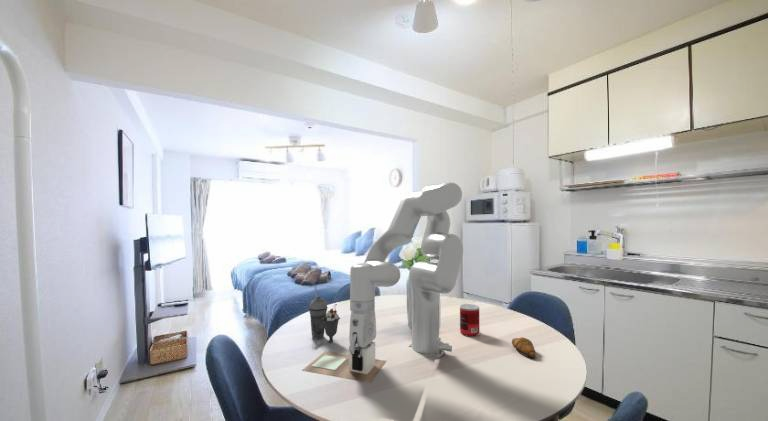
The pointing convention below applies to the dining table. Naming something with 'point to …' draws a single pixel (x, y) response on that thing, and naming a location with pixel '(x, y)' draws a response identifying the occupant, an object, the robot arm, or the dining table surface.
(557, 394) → the dining table surface
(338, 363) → the board
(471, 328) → the canned food
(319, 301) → the beverage cup
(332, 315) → the sundae
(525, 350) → the croissant
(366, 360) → the white cardboard box
